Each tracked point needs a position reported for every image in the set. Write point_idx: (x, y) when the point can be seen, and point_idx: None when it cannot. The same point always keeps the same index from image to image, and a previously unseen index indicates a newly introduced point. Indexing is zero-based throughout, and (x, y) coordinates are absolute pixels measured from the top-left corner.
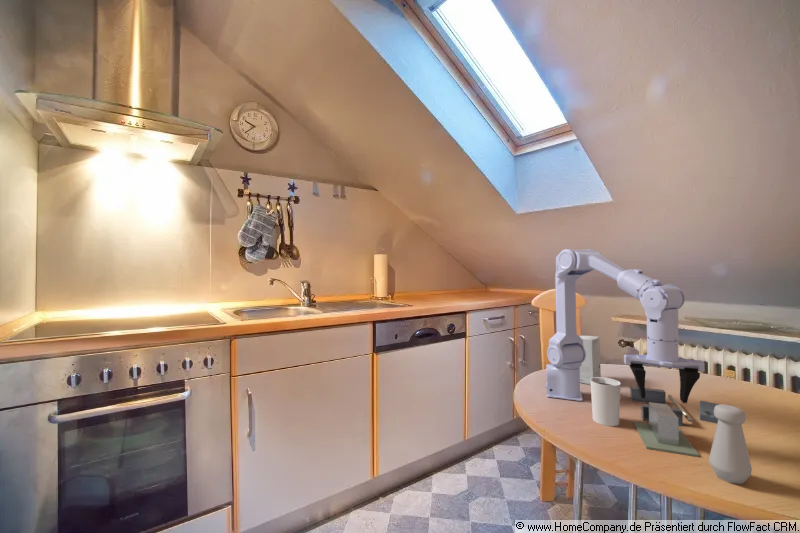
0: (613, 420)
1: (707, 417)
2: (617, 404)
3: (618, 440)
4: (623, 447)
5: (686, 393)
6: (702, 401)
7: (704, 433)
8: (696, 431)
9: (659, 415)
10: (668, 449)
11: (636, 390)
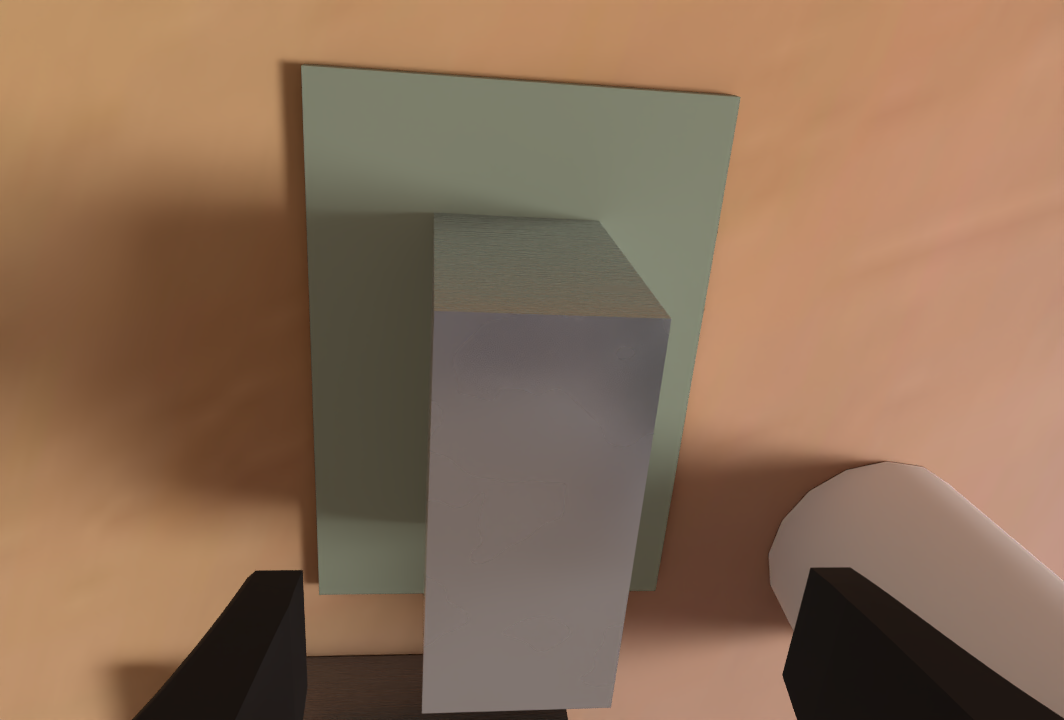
0: (868, 499)
1: None
2: None
3: (919, 193)
4: (937, 50)
5: (222, 676)
6: None
7: (126, 581)
8: (182, 597)
9: (654, 320)
10: (556, 96)
11: None
